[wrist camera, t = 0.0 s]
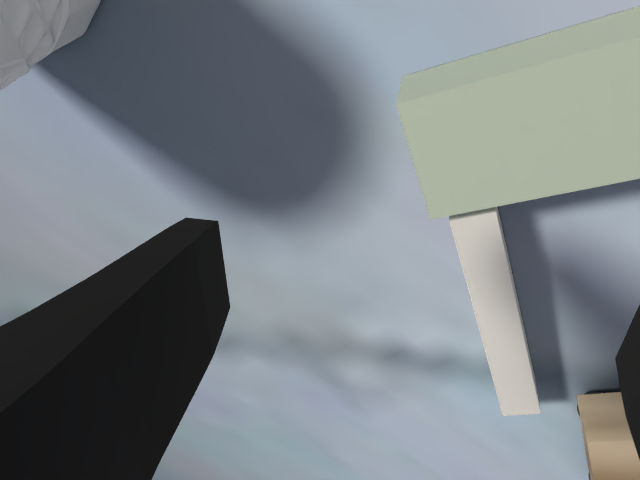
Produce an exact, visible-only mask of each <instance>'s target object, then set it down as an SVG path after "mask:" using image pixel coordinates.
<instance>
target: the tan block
mask: <svg viewBox="0 0 640 480" xmlns="http://www.w3.org/2000/svg"><path fill="white" fill-rule="evenodd" d="M576 397H577V403H578V404H577V410H578V414H579V416H580V421H581V427H582V433H583V438H584V444H585V450H586V456H587V462H588V468H589V480H640V460H639V457H638V454H637V450H636V447H635V444H634V441H633V438H632V435H631V432H630V429H629V425H628V422H627V419H626V416H625V410H624V405H623V400H622V395H621V392H614V393H601V392H597V391H591V392H587V393H585V394H584V395H576Z"/></svg>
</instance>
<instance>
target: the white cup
mask: <svg viewBox="0 0 640 480" xmlns="http://www.w3.org/2000/svg"><path fill="white" fill-rule="evenodd" d="M100 2H101V0H0V90H2V89H3V88H5V87H6V86H8V85H9V84H11V83H12V82H14V81H15V80H16V79H18V78H19V77H21V76H23V75H25V74H27V73H28V72H29V70H30V69H31V68H32V67H33V66H34V65H35V64H36V63H37V62H39V61H41V60H42V59H43V58H45V57H46V56H48V55H49V54H50V53H52V52H54V51H55V50H57V49H59V48H61V47H63V46H64V45H66V44H68V43H70V42H72V41H73V40H75V39H77V38H79V37H81V36H82V35H84V34H85V32H86V30H87V28H88V26H89V24H90V22H91V20H92V18H93V16H94V14H95V12H96V10H97V8H98V6H99V4H100Z"/></svg>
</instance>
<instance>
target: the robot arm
mask: <svg viewBox="0 0 640 480" xmlns="http://www.w3.org/2000/svg"><path fill="white" fill-rule="evenodd" d="M229 309H230V303H229V295H228V288H227V281H226V274H225V267H224V260H223V253H222V245H221V238H220V231H219V224H218V221H212V220H203V219H193V218H185V219H183V220H181V221H179V222H177V223H176V224H174V225H172V226H170V227H169V228H167V229H165V230H164V231H162V232H161V233H159V234H157V235H156V236H154V237H153V238H151V239H149V240H148V241H146V242H145V243H143V244H142V245H140V246H138V247H137V248H135V249H134V250H132V251H130V252H129V253H127V254H126V255H124V256H122V257H121V258H119V259H118V260H116V261H114V262H113V263H111V264H110V265H108V266H106V267H105V268H103V269H102V270H100V271H98V272H97V273H95V274H94V275H92V276H90V277H89V278H87V279H85V280H84V281H82V282H80V283H78V284H77V285H75V286H73V287H71V288H70V289H68V290H66V291H64V292H63V293H61V294H59V295H57V296H56V297H54V298H52V299H50V300H49V301H47V302H45V303H43V304H42V305H40V306H38V307H36V308H35V309H33V310H31V311H29V312H27V313H25V314H23V315H22V316H20V317H18V318H16V319H14V320H12V321H10V322H8V323H6V324H4V325H2V326H0V480H152V477H153V475H154V473H155V471H156V469H157V466H158V464H159V462H160V460H161V458H162V456H163V454H164V452H165V450H166V448H167V447H168V445H169V443H170V441H171V439H172V437H173V435H174V433H175V431H176V429H177V427H178V425H179V423H180V421H181V419H182V417H183V415H184V413H185V411H186V409H187V407H188V405H189V403H190V401H191V399H192V397H193V396H194V394H195V392H196V390H197V388H198V386H199V384H200V382H201V380H202V378H203V376H204V374H205V372H206V370H207V368H208V366H209V363H210V361H211V359H212V357H213V355H214V353H215V350H216V347H217V344H218V342H219V339H220V336H221V333H222V330H223V327H224V324H225V321H226V318H227V315H228V312H229ZM615 359H616V365H617V371H618V377H619V384H620V390H621V395H622V400H623V405H624V410H625V416H626V419H627V422H628V425H629V429H630V432H631V435H632V438H633V441H634V444H635V447H636V450H637V454H638V457H639V460H640V305H639V307H638V309H637V312H636V314H635V316H634V318H633V320H632V323H631V325H630V327H629V329H628V332H627V334H626V336H625V338H624V341H623V343H622V345H621V347H620V349H619V352H618V354H617V356H616V358H615Z"/></svg>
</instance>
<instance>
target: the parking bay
mask: <svg viewBox="0 0 640 480" xmlns="http://www.w3.org/2000/svg"><path fill="white" fill-rule="evenodd" d="M396 106H397V109H398V112H399V116H400V119H401V122H402V126H403V129H404V133H405V136H406V139H407V143H408V146H409V150H410V153H411V156H412V160H413V163H414V166H415V170H416V173H417V177H418V180H419V183H420V187H421V190H422V193H423V197H424V200H425V204H426V207H427V210H428V214H429V217H430V220H431V219H436V218H441V217H446V216H449V222H450V225H451V229H452V233H453V236H454V240H455V243H456V247H457V251H458V254H459V258H460V262H461V265H462V269H463V273H464V276H465V280H466V283H467V287H468V291H469V294H470V298H471V302H472V305H473V309H474V313H475V316H476V320H477V323H478V327H479V331H480V334H481V338H482V342H483V345H484V349H485V353H486V356H487V360H488V363H489V367H490V371H491V374H492V378H493V382H494V385H495V389H496V392H497V396H498V400H499V403H500V407H501V411H502V414H503V416H510V415H525V414H541V412H540V406H539V400H538V394H537V387H536V381H535V376H534V371H533V366H532V362H531V357H530V353H529V348H528V343H527V339H526V334H525V330H524V325H523V321H522V316H521V311H520V307H519V302H518V298H517V293H516V289H515V284H514V279H513V275H512V270H511V266H510V261H509V257H508V252H507V247H506V243H505V238H504V234H503V229H502V224H501V220H500V215H499V211H498V206H503V205H508V204H513V203H518V202H523V201H528V200H533V199H538V198H543V197H549V196H554V195H559V194H564V193H569V192H574V191H579V190H584V189H589V188H595V187H600V186H605V185H610V184H615V183H620V182H625V181H630V180H635V179H640V6H639V7H636V8H632V9H629V10H626V11H622V12H619V13H616V14H612V15H609V16H605V17H602V18H599V19H595V20H592V21H588V22H585V23H582V24H578V25H575V26H572V27H568V28H565V29H561V30H558V31H555V32H551V33H548V34H545V35H541V36H538V37H534V38H531V39H528V40H524V41H521V42H518V43H514V44H511V45H507V46H504V47H501V48H497V49H494V50H490V51H487V52H484V53H480V54H477V55H474V56H470V57H467V58H463V59H460V60H457V61H453V62H450V63H447V64H443V65H440V66H436V67H433V68H430V69H426V70H423V71H419V72H416V73H413V74H409V75H406V76H403V77H402V81H401V85H400V90H399V94H398V99H397V103H396Z"/></svg>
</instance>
